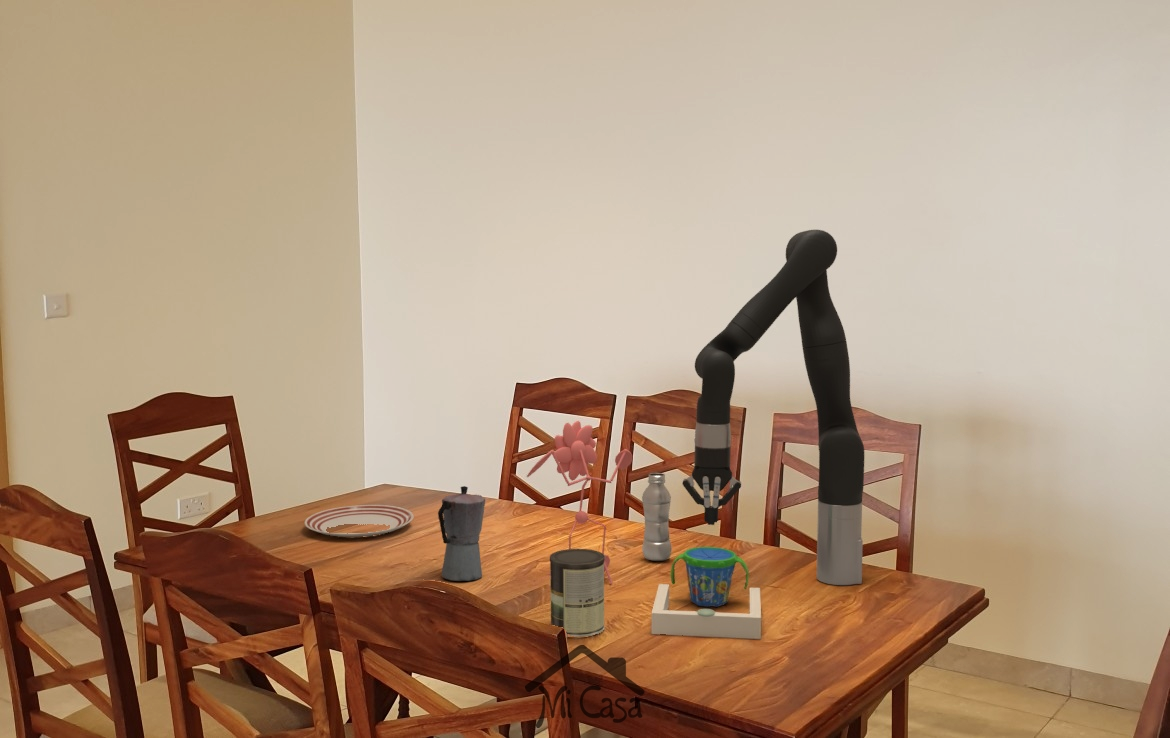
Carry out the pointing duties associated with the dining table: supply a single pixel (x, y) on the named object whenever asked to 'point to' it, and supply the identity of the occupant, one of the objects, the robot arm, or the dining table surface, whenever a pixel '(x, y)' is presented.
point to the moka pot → (461, 535)
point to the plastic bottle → (656, 519)
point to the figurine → (580, 466)
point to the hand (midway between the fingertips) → (710, 523)
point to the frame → (705, 619)
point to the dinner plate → (359, 519)
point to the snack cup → (709, 574)
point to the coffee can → (577, 591)
